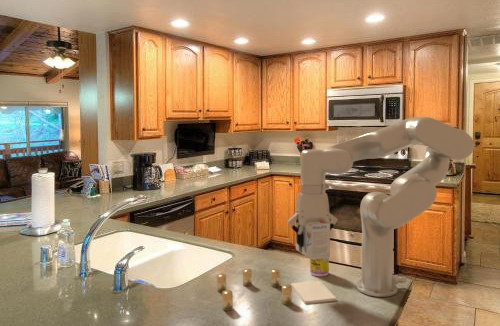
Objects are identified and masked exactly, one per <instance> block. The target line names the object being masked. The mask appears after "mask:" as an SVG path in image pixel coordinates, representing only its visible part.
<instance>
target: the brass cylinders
mask: <svg viewBox="0 0 500 326" xmlns="http://www.w3.org/2000/svg"><path fill="white" fill-rule="evenodd" d="M252 285H253V270H252V269H251V268H244V269H242V286H244V287H247V288H248V287H252ZM280 285H281V270H280V269H278V268H275V269H270V286H271V287H272V288H278V287H280ZM216 292H219V293H221V294H222V295H221V296H222V297H221V298H222V299H221V300H222V302H221V303H222V311H224V312H231V311H233V309H234V306H233V305H234V303H233V299H234V298H233V297H234V296H233V290H230V289H227V274H226V273H218V274H217V275H216ZM292 295H293V288H292V286H291V284H282V285H281V304H282V305H285V306H290V305H291V304H293V296H292Z"/></svg>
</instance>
